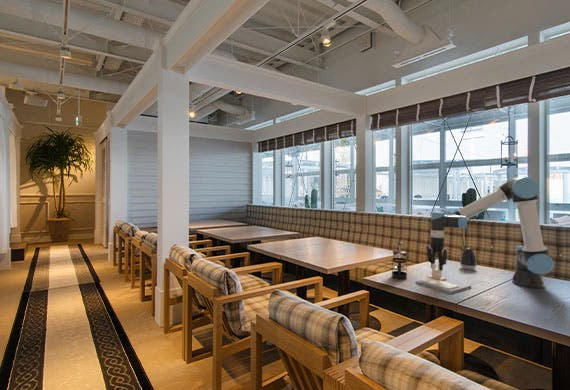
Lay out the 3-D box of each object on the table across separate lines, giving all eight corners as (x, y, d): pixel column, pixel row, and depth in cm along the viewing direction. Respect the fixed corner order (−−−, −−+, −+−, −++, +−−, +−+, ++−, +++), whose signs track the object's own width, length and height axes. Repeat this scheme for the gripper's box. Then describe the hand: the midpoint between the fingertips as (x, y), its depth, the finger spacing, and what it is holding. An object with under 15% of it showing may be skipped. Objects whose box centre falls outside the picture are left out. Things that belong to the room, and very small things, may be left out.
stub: (446, 279, 197) (446, 270, 196) (440, 280, 194) (440, 271, 193) (433, 275, 204) (433, 266, 204) (427, 277, 201) (427, 267, 201)
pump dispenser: (456, 267, 233) (456, 246, 232) (469, 267, 234) (470, 246, 234) (465, 271, 223) (466, 249, 222) (479, 270, 224) (480, 249, 223)
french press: (407, 281, 199) (408, 244, 198) (391, 279, 202) (391, 243, 201) (406, 276, 210) (407, 240, 209) (391, 274, 213) (392, 240, 212)
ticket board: (471, 288, 186) (471, 284, 186) (450, 294, 176) (450, 289, 175) (436, 278, 205) (436, 274, 205) (415, 283, 194) (415, 279, 194)
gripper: (422, 235, 203) (421, 272, 204) (446, 239, 189) (445, 278, 190) (429, 234, 207) (428, 270, 208) (453, 238, 193) (452, 277, 194)
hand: (436, 274), depth 199 cm, fingers closed on stub, 3 cm apart
